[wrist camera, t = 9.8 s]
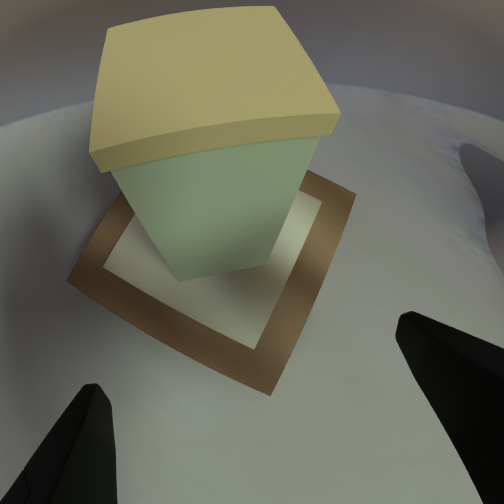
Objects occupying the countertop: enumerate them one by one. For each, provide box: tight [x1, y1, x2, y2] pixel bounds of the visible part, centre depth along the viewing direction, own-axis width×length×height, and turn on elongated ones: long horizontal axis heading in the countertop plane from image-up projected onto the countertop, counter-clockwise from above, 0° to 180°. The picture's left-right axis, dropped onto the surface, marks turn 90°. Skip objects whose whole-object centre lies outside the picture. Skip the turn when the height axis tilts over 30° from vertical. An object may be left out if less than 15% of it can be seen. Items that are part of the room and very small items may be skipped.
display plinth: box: [67, 170, 356, 396], centre depth 19 cm, size 14×14×2 cm
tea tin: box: [89, 6, 341, 282], centre depth 12 cm, size 5×5×12 cm
